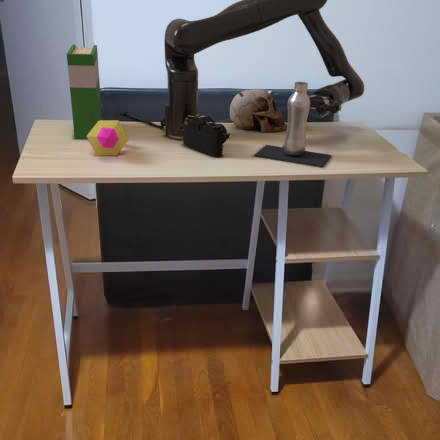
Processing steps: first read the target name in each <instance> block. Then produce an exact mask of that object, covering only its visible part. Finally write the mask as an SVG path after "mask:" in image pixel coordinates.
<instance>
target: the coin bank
mask: <svg viewBox="0 0 440 440" xmlns="http://www.w3.org/2000/svg"><path fill="white" fill-rule="evenodd" d="M229 118H230V121H232V123H233V124H234V125H235V127H236V128H238V129H242V130H246V131H248V130H250V131H251V130H256V129H257V130H260V132H261V133H266V132H267V133H269V132H270V133H271V132H278V131H279V132H282V131H284V130H287V123H286V122H285V121H284V115H283V113H282V112H281V111H279V109H278V108H277V105H276V102H275V101H274V98H273V97H272V96H271V94H270V93H269V92H268V91H267V90H265V89H263V88H252V89H245V90H242V91H240V92H238V93H237V94H236V95H235V96H234V97H233V98H232V101H231V103H230V105H229Z"/></svg>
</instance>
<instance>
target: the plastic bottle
mask: <svg viewBox="0 0 440 440" xmlns="http://www.w3.org/2000/svg"><path fill="white" fill-rule="evenodd" d="M308 87H309V83H308V82H305V81H295V82H294V86H293V92H292V94H291V95H290V96H289V97H288V99H287V106H286V107H287V123H286V125H287V129H286V131H285V137H284V140H283V144H282V147H283V150H284V152H285V153H286V154H288V155H302V154H303V153H304V151H306V146H307V143H306V142H307V141H306V129H307V122H308V116H309V113H310V110H311V108H310V99H309V97H308V96H309V95H308V93H307V92H308Z"/></svg>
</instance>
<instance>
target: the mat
mask: <svg viewBox="0 0 440 440" xmlns="http://www.w3.org/2000/svg"><path fill="white" fill-rule="evenodd" d="M331 156H332V155H331V154H329V153H328V154H327V153H321V152H315V151H309V150H305V151H304V153H303V154H302V155H288V154H286V153H285V152H284V150H283V146H277V145H270V144H265V146H262V148H260V149H259V151H258V152H256V153H255V154H254V157H257V158H263V159H269V160H275V161H280V162H287V163H294V164H299V165H306V166H311V167H317V168H323V167H324V166H325V165H326V163H327V162H328V161H329V159H330V158H331Z"/></svg>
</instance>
